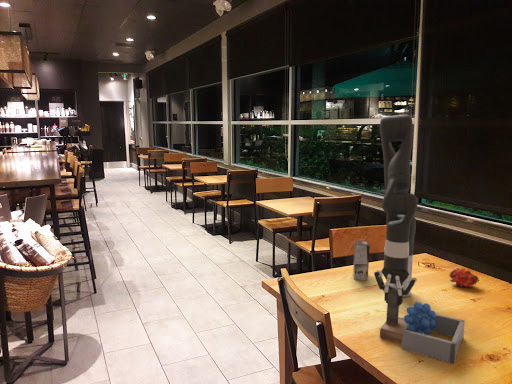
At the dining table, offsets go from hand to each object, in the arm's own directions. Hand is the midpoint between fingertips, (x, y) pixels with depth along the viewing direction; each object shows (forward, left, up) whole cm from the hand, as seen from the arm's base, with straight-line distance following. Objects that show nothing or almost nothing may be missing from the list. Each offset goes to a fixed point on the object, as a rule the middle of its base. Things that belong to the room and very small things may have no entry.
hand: (393, 303), depth 135 cm
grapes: (-1, +9, -10) cm, 14 cm away
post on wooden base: (0, +2, -10) cm, 10 cm away
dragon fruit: (-60, +14, -10) cm, 62 cm away
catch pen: (0, +13, -10) cm, 16 cm away
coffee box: (-45, -27, -10) cm, 54 cm away
